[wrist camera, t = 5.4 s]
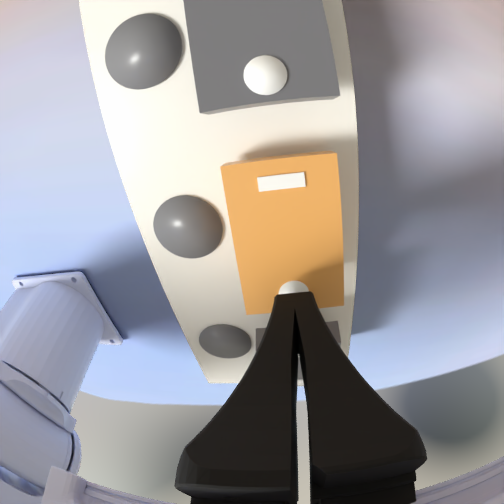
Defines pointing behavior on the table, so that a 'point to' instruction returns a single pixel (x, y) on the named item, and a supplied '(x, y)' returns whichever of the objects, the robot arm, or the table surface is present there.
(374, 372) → the table surface
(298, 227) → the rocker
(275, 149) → the switch panel
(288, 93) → the rocker
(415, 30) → the table surface
